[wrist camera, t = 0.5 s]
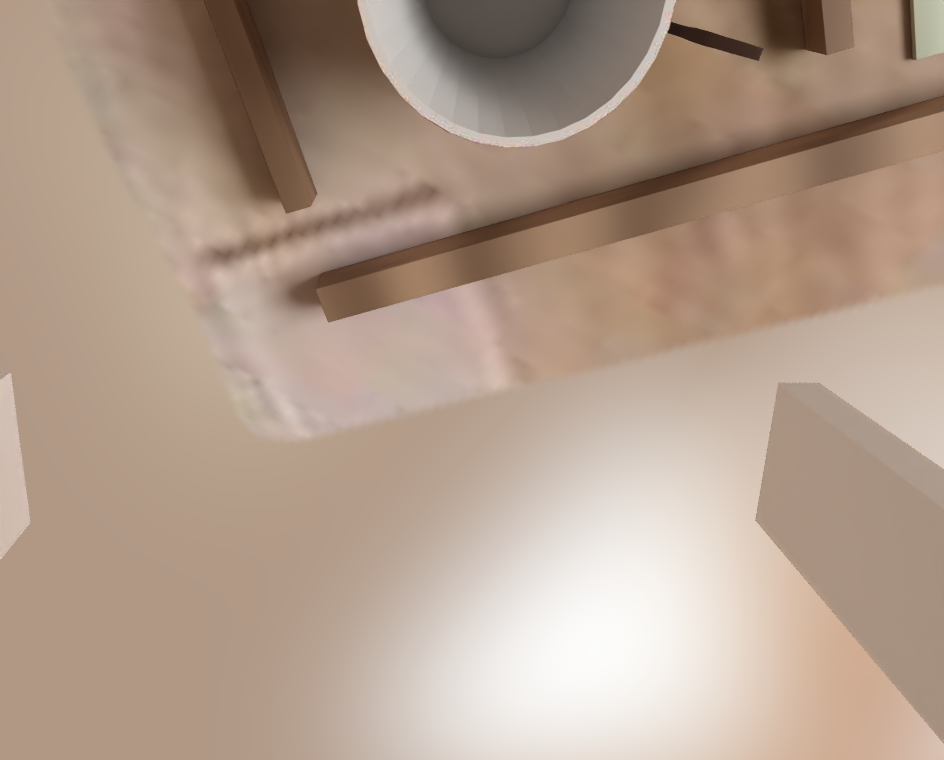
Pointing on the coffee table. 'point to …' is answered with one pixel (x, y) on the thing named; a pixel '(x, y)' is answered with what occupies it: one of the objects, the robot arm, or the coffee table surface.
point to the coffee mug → (522, 60)
